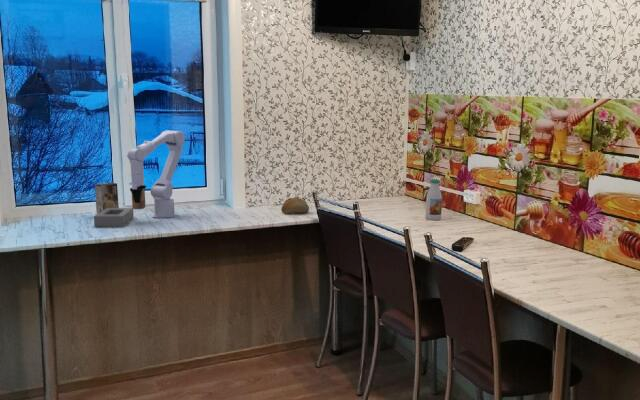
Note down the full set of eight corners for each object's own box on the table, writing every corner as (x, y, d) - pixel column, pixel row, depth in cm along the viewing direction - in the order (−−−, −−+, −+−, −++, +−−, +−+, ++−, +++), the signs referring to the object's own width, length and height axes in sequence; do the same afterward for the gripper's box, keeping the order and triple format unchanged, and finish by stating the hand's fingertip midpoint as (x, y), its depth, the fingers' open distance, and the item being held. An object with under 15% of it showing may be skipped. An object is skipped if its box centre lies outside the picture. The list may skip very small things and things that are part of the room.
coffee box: (112, 212, 300) (110, 182, 297) (119, 214, 297) (117, 183, 294) (96, 215, 293) (94, 184, 290) (103, 217, 289) (101, 185, 286)
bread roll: (278, 212, 305) (278, 197, 304) (305, 210, 311) (305, 195, 309) (284, 216, 297) (284, 200, 295) (311, 214, 302) (311, 198, 301)
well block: (133, 217, 289) (133, 207, 288) (123, 226, 269) (122, 216, 269) (106, 217, 288) (106, 208, 287) (94, 227, 268) (93, 216, 268)
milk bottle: (423, 219, 291) (425, 180, 287) (428, 216, 297) (429, 178, 294) (438, 221, 287) (440, 181, 283) (442, 218, 294) (444, 179, 290)
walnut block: (145, 207, 282) (144, 188, 280) (143, 209, 277) (142, 190, 276) (135, 207, 282) (134, 188, 280) (132, 209, 277) (131, 190, 275)
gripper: (132, 171, 283) (134, 199, 286) (124, 175, 269) (126, 204, 271) (147, 171, 284) (148, 198, 286) (140, 175, 269) (141, 204, 272)
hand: (138, 201), depth 279 cm, fingers closed on walnut block, 5 cm apart
